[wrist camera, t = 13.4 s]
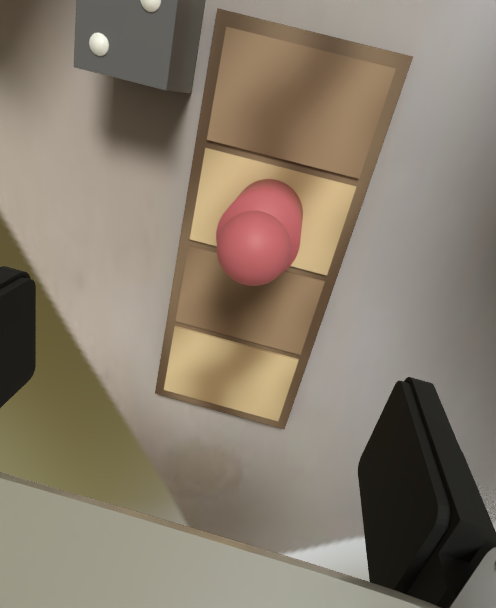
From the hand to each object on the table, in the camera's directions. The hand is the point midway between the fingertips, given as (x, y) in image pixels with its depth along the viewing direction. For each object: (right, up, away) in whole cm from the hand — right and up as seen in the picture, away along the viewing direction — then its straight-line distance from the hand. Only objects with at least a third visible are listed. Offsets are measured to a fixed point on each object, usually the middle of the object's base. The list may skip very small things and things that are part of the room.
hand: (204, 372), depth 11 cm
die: (-4, +18, +15) cm, 23 cm away
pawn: (+2, +7, +17) cm, 19 cm away
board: (+2, +5, +19) cm, 20 cm away
